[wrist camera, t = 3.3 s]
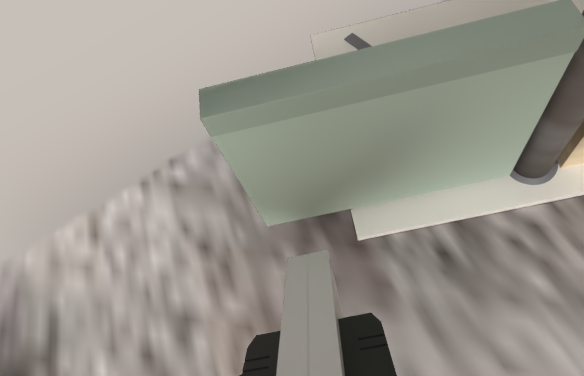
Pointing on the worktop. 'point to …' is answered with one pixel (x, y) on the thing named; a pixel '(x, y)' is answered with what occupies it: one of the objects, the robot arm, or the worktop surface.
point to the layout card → (462, 199)
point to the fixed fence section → (558, 125)
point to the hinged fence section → (393, 114)
